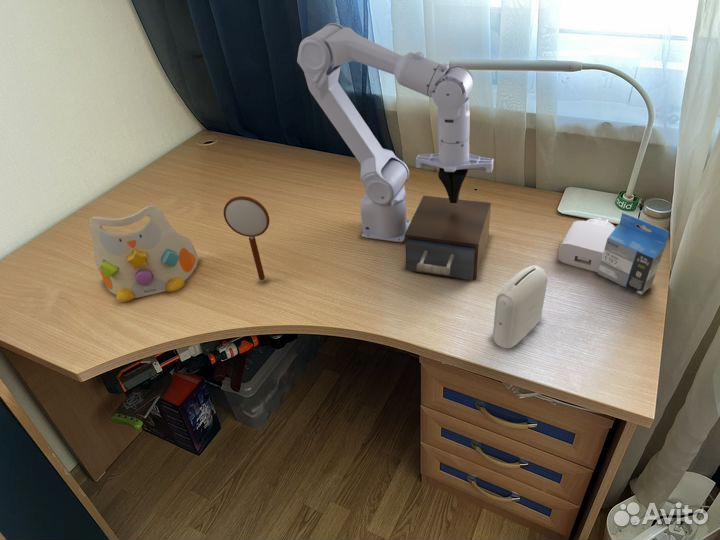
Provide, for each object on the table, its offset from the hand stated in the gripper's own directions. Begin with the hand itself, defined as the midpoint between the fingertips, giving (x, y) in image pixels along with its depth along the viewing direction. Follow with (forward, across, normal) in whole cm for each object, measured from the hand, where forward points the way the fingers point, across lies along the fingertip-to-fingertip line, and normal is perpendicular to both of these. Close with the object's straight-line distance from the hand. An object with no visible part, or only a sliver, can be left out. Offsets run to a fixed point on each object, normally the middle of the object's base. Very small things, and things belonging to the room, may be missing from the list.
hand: (454, 200), depth 108 cm
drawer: (+10, 0, -8) cm, 13 cm away
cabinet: (+10, 0, -4) cm, 11 cm away
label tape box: (+12, +33, -4) cm, 35 cm away
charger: (+12, +27, +5) cm, 30 cm away
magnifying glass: (+9, -34, -22) cm, 42 cm away
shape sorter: (+9, -57, -28) cm, 64 cm away
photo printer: (+11, +16, -22) cm, 30 cm away
